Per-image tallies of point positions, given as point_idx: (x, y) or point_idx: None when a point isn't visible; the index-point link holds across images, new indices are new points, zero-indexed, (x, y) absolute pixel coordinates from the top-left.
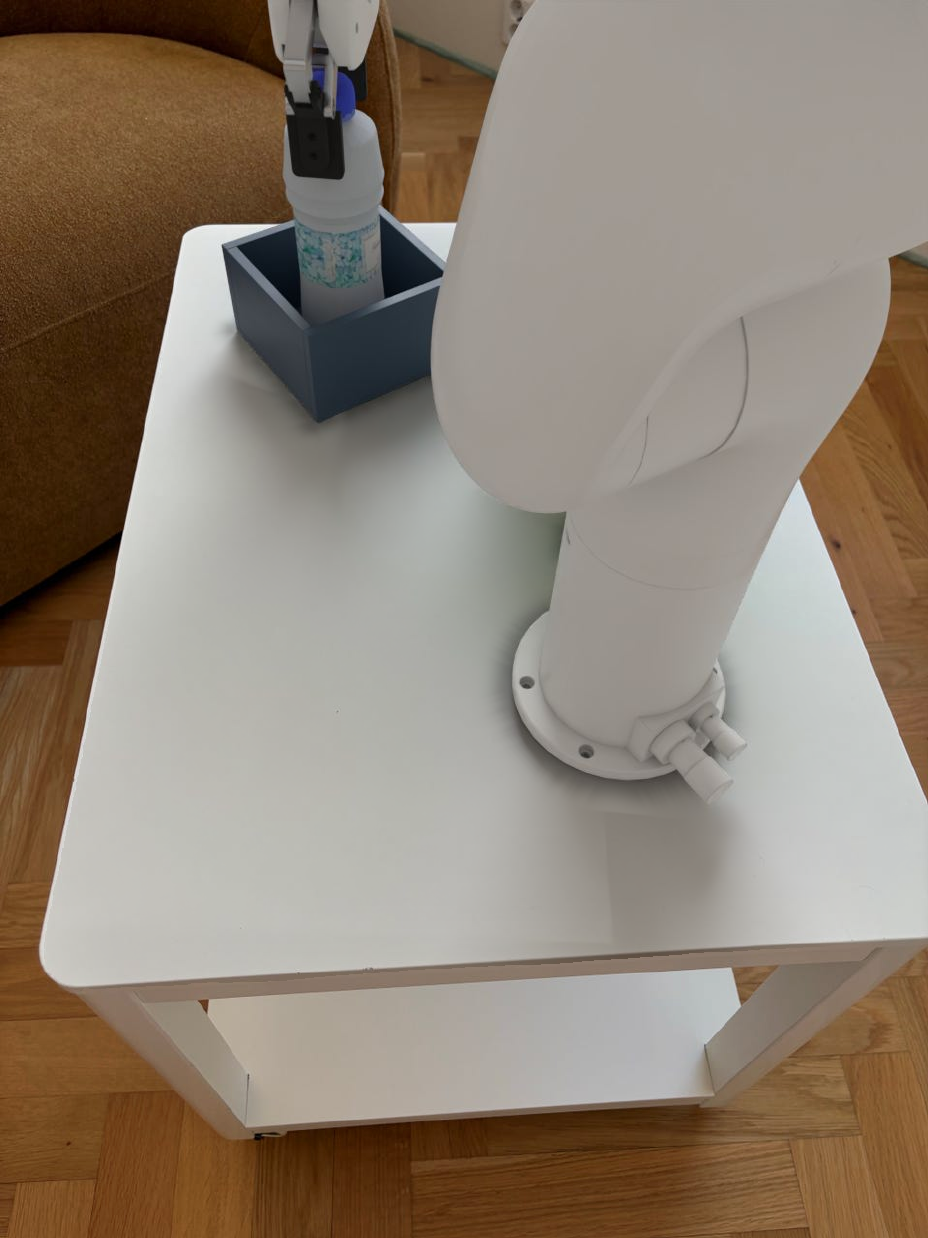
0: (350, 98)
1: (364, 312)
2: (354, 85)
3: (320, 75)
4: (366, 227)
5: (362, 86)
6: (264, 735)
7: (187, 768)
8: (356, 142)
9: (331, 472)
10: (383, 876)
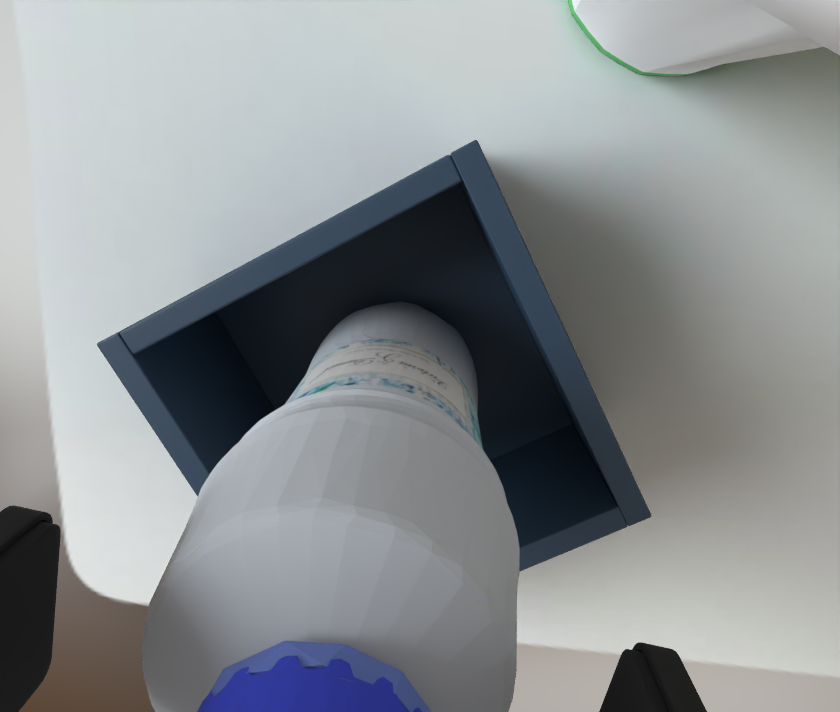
0: None
1: (587, 397)
2: (14, 592)
3: None
4: (463, 427)
5: (17, 559)
6: None
7: None
8: (471, 604)
9: (715, 411)
10: None
